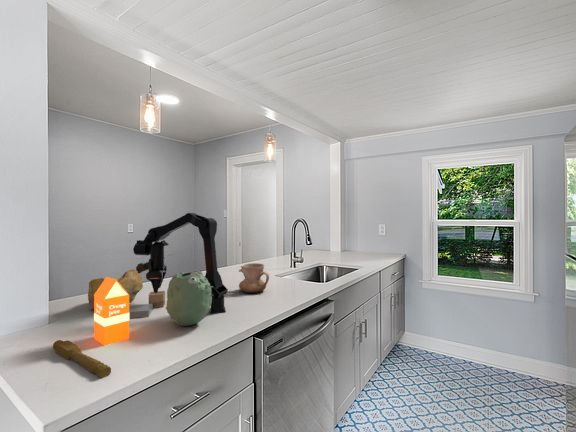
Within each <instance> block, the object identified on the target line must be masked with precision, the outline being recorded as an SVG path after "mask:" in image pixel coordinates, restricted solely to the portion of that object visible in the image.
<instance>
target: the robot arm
mask: <svg viewBox="0 0 576 432" xmlns="http://www.w3.org/2000/svg"><path fill="white" fill-rule="evenodd" d="M190 224H191V225H192V226H195V227H196V228H198V232H199V235H200V236H201V239H202V240H203V241H202V242H203V253H204V263H205V265H204V266H205V275H204V276H205V277H206V278H207V280H208V282H209V283H210V286H213V288H211V294H212V295H213V296H212V303H211V306H210V309H209V314H217V313H226V307H225V295H227V293H228V292H229V289H228V288H227V287H226V286H225V284H223V280H222V276H221V274H220V272H219V271H218V270H219V269H218V263H217V250H216V241H215V239H216V238H215V237H216V235H217V229H218V223H217V220H216V219H214V218H212V217H206V216H203V215H199V214H197V213H194V212H187V213H185V214H184V215H182V216H180V217H178V218H177V219H174V220H172V221H170V222H168V223H167V224H163V225H159V226H155V227H152V228H151V227H150V228H149V229H148V232H147V234H146V236H145V238H144V239H143V240H142V239H140V240H136V243H135V245H134V246H133V250H132V251H133V253H134V255H136V256H150V257H149V259H148V261H145V262H140V263H138V264H137V265H136V266H135V268H136V269H135V270H136V271H137V272H138V274H141V273H143V272H145V271H147V273H145V279H146V280H147V281H149V282H151V286H152V289H153V291H154V293H157V292H158V291H159V289H161V286H162V284H163V281H164V279H165V277H166V274H167V272H168V266H167V265H166V264H165V247H166V246H169V243H168V242H167V241H166V240H165V239H167V238H168V237H169V236H170V235H171V234H172V233H174V232H175V231H177V230H180V229H181V228H184V227H185V226H187V225H190Z"/></svg>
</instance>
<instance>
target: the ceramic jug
mask: <svg viewBox="0 0 576 432" xmlns="http://www.w3.org/2000/svg"><path fill="white" fill-rule="evenodd" d="M264 269H265V265H264V264H263V263H257V262H255V263H254V262H253V263H252V262H251V263H244V264H241V267H240V268H239V269H238V272H239V273H242V274H243V276H244V277H243V278H244V279H243V280H241V281H240V282H239V284H238V288H239V290H241V291H242V292H244V293H246V294H248V293H249V294H254V293H261V292H263V291H264V290H266V288H267V285H268V283H269V281H270V275H269V273H268V272H267V271H264ZM263 275H265V277H266V279H265V281H264V280H262V278H261V277H262V276H263Z"/></svg>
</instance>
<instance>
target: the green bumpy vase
mask: <svg viewBox="0 0 576 432" xmlns="http://www.w3.org/2000/svg"><path fill="white" fill-rule="evenodd" d="M211 288H213V286H210V283H209V282H208V280H207V278H206V277H205V275H204V273H203V271H201V270H198V271H196V272H194V271H193V272H192V271H190V272H183V271H181V272H179V273H175V274H174V275H172V277H171V279H170V280H169V282H168V288H167V290H166V307H165V310H166V311H167V314H168V315H169V316H170V318H171V319H172V320H173V321H174V322H175V323H177V324H178V325H181V326H184V327H188V326H193V325H196V324H198V323H200V322H201V321H203V320H204V319H205V318H206V316H207V315H208V313H209V312H210V308H211V303H212V296H213V295H212V294H211Z"/></svg>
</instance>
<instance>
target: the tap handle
mask: <svg viewBox="0 0 576 432" xmlns="http://www.w3.org/2000/svg"><path fill="white" fill-rule="evenodd" d="M52 348H53V349H54V350H55V354H56V355H58V356H60V357H62V358H63V359H65V360H66V361H70V360H71V361H75V362H77V363H78V364H80V365H81V366H82V367H84V368H85V369H86V370H88V371H89V372H91V373H92V374H94V375H96V376H97V377H99V378H100V379H104V378H107V377H109V375H110V374H111V372H112V368H111V367H110V366H108V364H105V363H104V362H101V361H100V360H98V359H97V358H93V357H91V356H90V355H86V354H84V353H83V352H82V350H81V347H80V345H78V344H75V343H74V342H72V341H70V340H61V339H59V340H56V341H54V343H53V344H52Z"/></svg>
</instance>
